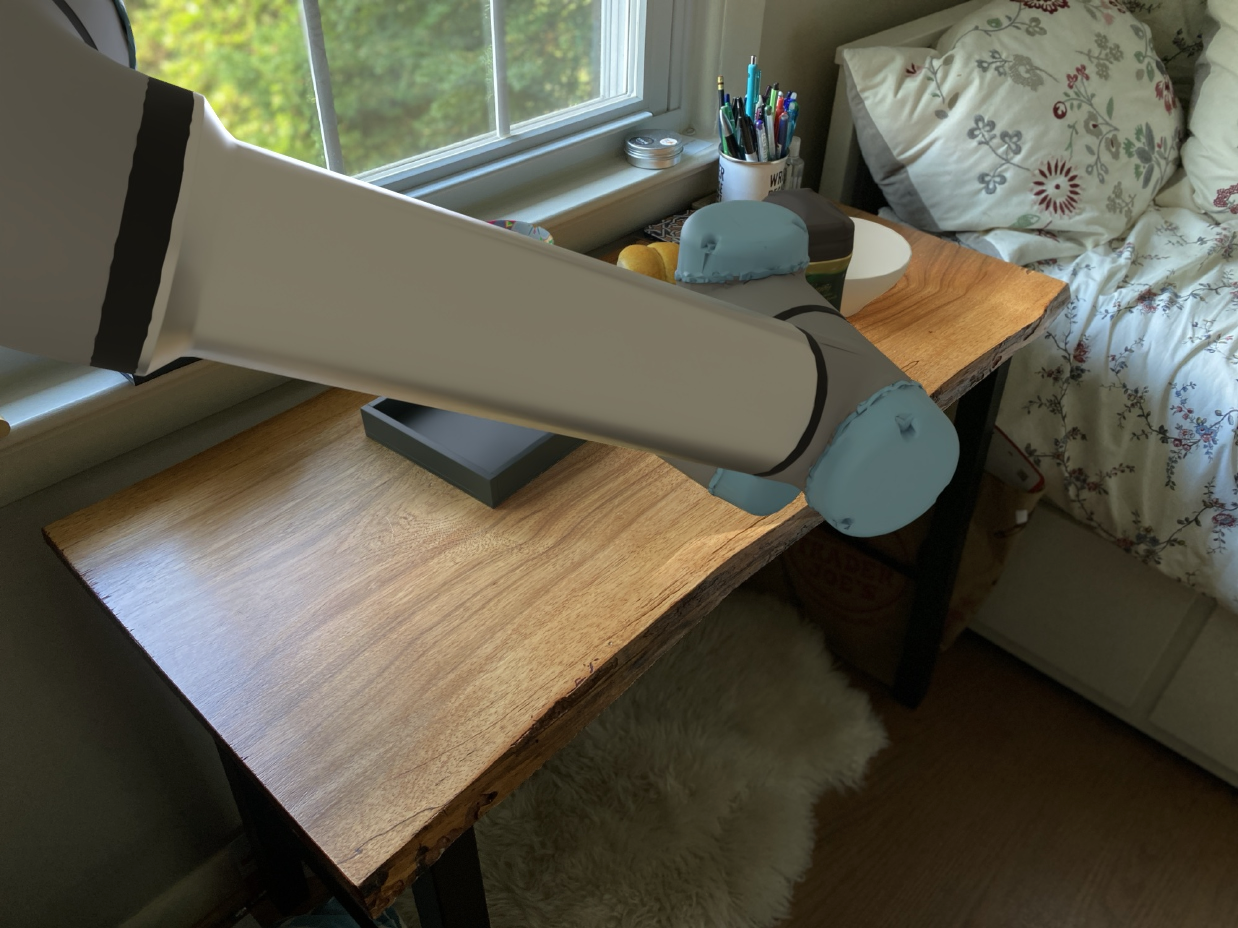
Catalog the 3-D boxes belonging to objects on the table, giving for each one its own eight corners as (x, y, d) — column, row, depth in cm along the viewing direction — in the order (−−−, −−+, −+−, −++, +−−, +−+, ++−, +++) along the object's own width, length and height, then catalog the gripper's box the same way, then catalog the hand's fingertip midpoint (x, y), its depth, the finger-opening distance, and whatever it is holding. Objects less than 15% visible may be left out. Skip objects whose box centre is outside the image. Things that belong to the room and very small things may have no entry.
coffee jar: (841, 399, 90) (873, 218, 79) (765, 411, 89) (786, 228, 77) (802, 349, 98) (826, 176, 86) (730, 359, 96) (745, 185, 85)
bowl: (768, 263, 113) (774, 208, 109) (903, 279, 110) (914, 223, 105) (746, 327, 101) (751, 268, 97) (897, 347, 98) (910, 287, 93)
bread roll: (703, 285, 109) (705, 254, 106) (630, 297, 107) (630, 265, 104) (677, 255, 115) (678, 225, 112) (608, 266, 113) (607, 235, 110)
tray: (493, 509, 78) (489, 480, 76) (365, 435, 86) (359, 407, 84) (624, 413, 89) (624, 386, 87) (499, 356, 97) (497, 330, 95)
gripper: (507, 486, 65) (345, 362, 77) (730, 363, 77) (558, 273, 90) (498, 397, 60) (327, 280, 73) (736, 281, 72) (555, 198, 85)
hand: (455, 276), depth 81 cm, fingers closed on mug, 11 cm apart
